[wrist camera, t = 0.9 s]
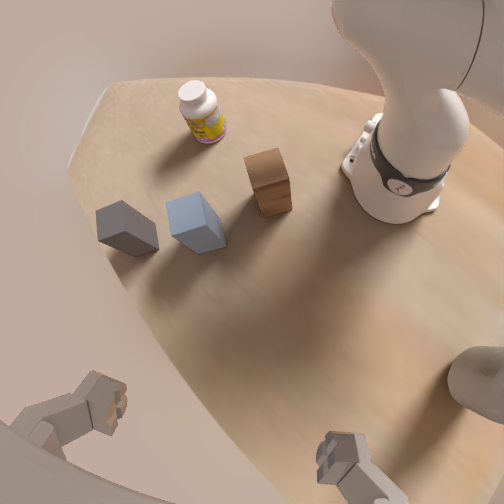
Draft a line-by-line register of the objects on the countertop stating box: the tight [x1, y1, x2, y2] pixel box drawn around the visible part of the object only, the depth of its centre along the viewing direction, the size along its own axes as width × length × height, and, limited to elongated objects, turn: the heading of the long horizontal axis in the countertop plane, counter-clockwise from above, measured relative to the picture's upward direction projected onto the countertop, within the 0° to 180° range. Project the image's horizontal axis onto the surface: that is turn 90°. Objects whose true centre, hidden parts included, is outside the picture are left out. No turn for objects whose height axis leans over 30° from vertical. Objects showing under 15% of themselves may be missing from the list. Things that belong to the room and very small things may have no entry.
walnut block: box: [244, 148, 292, 218], centre depth 47 cm, size 5×5×12 cm
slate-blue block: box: [166, 192, 227, 254], centre depth 47 cm, size 5×5×12 cm
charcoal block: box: [96, 200, 159, 257], centre depth 49 cm, size 5×5×12 cm
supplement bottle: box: [178, 80, 227, 144], centre depth 52 cm, size 7×7×13 cm
